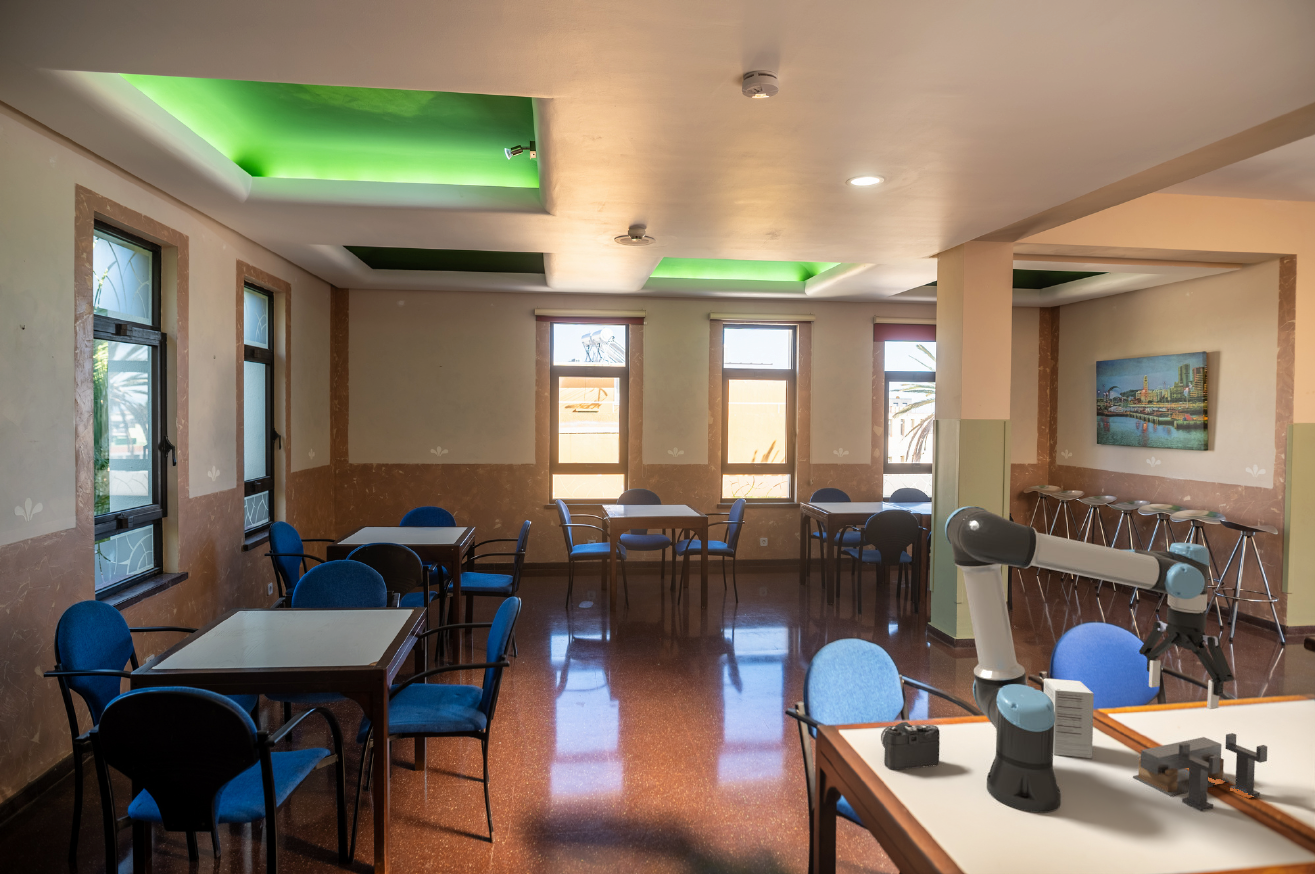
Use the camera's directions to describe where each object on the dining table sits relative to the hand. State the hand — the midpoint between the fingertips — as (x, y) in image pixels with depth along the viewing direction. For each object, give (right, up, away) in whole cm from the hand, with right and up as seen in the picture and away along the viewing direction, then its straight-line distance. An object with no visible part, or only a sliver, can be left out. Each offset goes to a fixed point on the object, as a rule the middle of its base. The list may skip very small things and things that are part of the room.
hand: (1182, 696), depth 171 cm
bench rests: (0, -20, 0) cm, 20 cm away
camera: (-63, -19, +9) cm, 67 cm away
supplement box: (-19, -20, +16) cm, 31 cm away
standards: (+3, -20, -8) cm, 22 cm away
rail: (0, -16, 0) cm, 16 cm away
